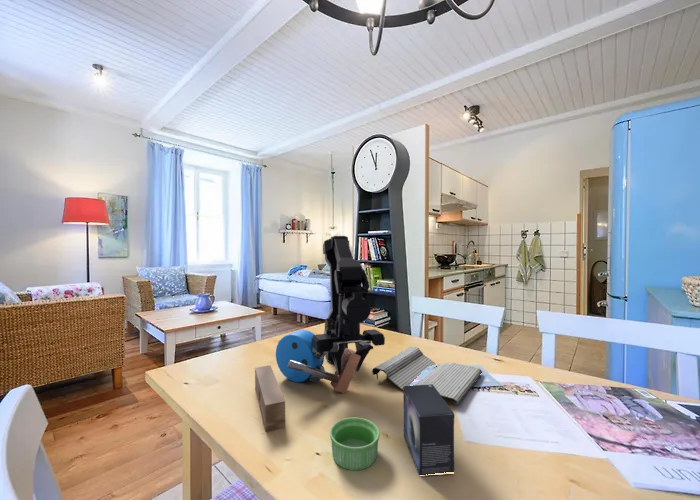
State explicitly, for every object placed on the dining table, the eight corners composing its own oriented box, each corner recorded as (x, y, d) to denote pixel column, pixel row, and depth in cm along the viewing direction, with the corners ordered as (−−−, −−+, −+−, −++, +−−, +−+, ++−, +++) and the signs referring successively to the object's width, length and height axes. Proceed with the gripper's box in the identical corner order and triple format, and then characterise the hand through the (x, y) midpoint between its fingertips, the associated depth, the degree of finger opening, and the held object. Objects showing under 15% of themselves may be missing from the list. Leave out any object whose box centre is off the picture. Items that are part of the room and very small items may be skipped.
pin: (339, 386, 81) (354, 351, 82) (345, 393, 77) (361, 356, 79) (283, 368, 75) (301, 330, 76) (287, 375, 71) (305, 335, 73)
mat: (458, 412, 70) (458, 391, 69) (371, 383, 84) (371, 366, 84) (483, 376, 88) (483, 360, 88) (408, 358, 102) (408, 344, 102)
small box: (401, 436, 60) (401, 384, 60) (433, 435, 61) (433, 383, 60) (417, 478, 49) (417, 414, 49) (456, 475, 50) (456, 412, 50)
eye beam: (270, 385, 81) (270, 365, 81) (285, 427, 63) (285, 401, 63) (255, 388, 80) (255, 367, 80) (265, 432, 61) (265, 405, 61)
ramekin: (383, 472, 51) (383, 446, 51) (330, 475, 50) (330, 449, 50) (375, 438, 60) (375, 416, 60) (329, 440, 59) (329, 418, 59)
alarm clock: (286, 366, 92) (328, 382, 85) (272, 374, 86) (315, 391, 79) (289, 324, 91) (332, 336, 84) (275, 329, 86) (319, 343, 79)
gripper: (367, 305, 90) (366, 357, 90) (306, 308, 83) (305, 365, 83) (386, 313, 80) (384, 372, 80) (318, 318, 73) (316, 382, 73)
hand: (347, 372), depth 79 cm, fingers closed on pin, 5 cm apart
